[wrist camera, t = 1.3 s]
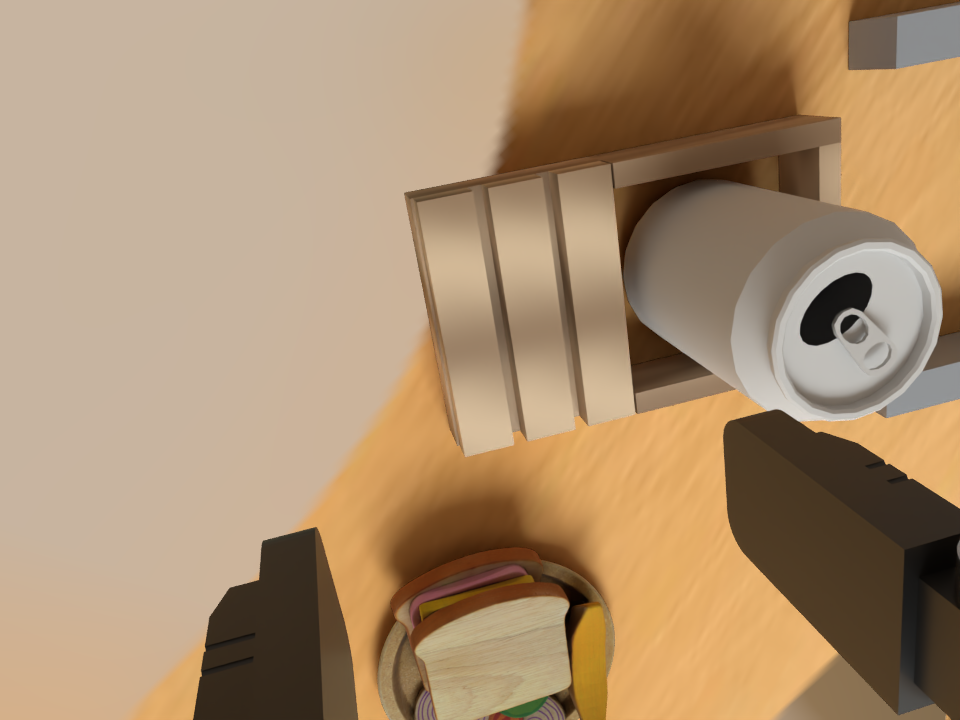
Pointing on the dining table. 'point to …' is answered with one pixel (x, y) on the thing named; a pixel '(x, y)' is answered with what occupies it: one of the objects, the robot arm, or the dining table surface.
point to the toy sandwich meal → (497, 643)
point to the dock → (893, 45)
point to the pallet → (571, 281)
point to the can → (785, 296)
